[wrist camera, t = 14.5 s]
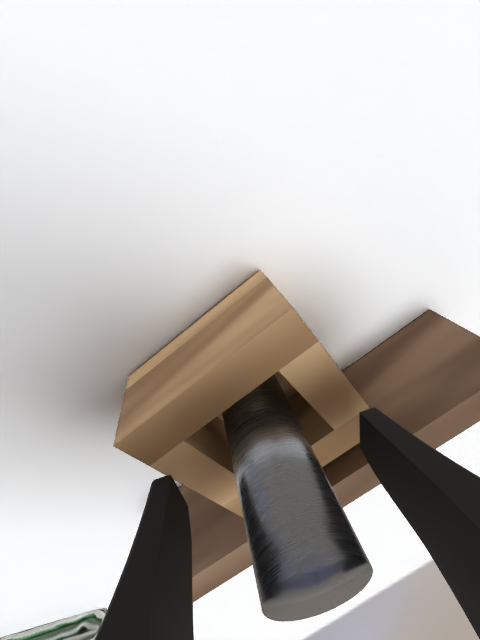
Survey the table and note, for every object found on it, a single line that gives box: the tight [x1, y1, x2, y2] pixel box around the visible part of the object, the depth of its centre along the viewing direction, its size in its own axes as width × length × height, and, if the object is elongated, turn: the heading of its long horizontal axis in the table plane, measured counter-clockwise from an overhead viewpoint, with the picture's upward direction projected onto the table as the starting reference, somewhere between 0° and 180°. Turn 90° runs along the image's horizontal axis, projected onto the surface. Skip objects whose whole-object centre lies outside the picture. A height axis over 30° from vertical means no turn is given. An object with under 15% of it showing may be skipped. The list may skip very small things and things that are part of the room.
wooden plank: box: [178, 310, 480, 602], centre depth 16 cm, size 2×20×5 cm, turn 127°
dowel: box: [222, 374, 373, 621], centre depth 11 cm, size 3×3×8 cm
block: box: [114, 270, 370, 517], centre depth 14 cm, size 8×8×4 cm
